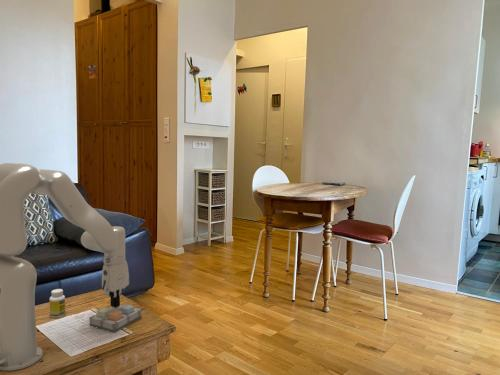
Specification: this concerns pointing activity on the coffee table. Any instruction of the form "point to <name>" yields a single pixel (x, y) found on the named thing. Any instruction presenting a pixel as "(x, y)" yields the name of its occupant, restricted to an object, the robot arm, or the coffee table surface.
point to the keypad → (112, 325)
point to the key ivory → (116, 308)
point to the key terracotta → (115, 315)
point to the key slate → (127, 309)
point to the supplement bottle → (57, 303)
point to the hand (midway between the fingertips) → (115, 306)
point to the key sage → (103, 312)
